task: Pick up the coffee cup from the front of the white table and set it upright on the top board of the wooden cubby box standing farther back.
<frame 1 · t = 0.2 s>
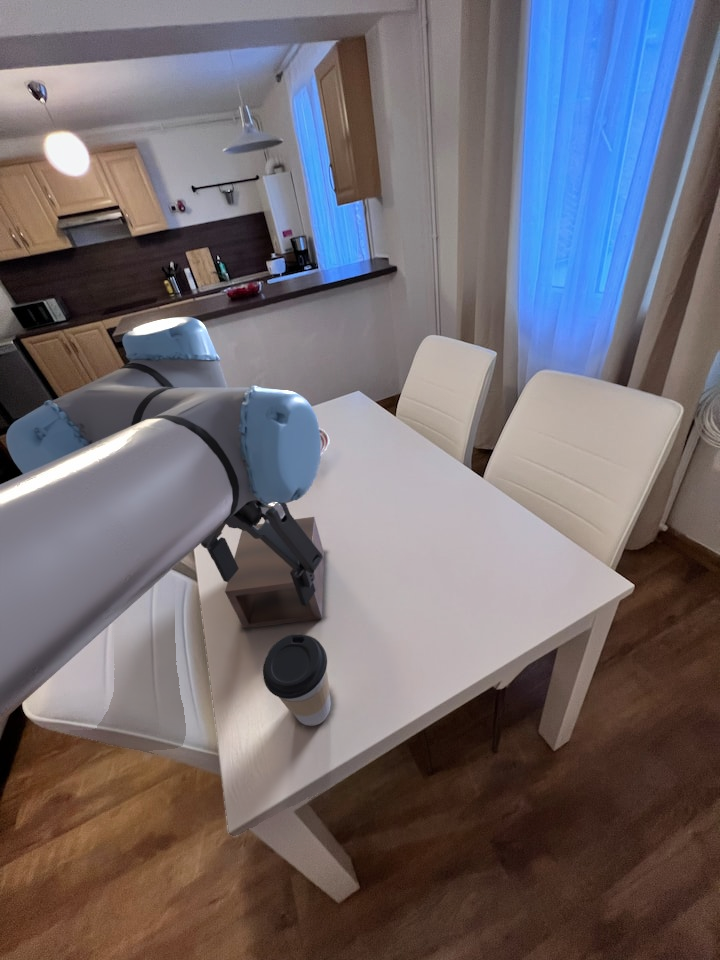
hand: (268, 585, 58), 24 cm above the table, tool pointing down, fingers open, 13 cm apart
coffee cup: (313, 708, 66), on the table
wooden cubby box: (287, 587, 88), on the table
dinner plate: (290, 453, 135), on the table
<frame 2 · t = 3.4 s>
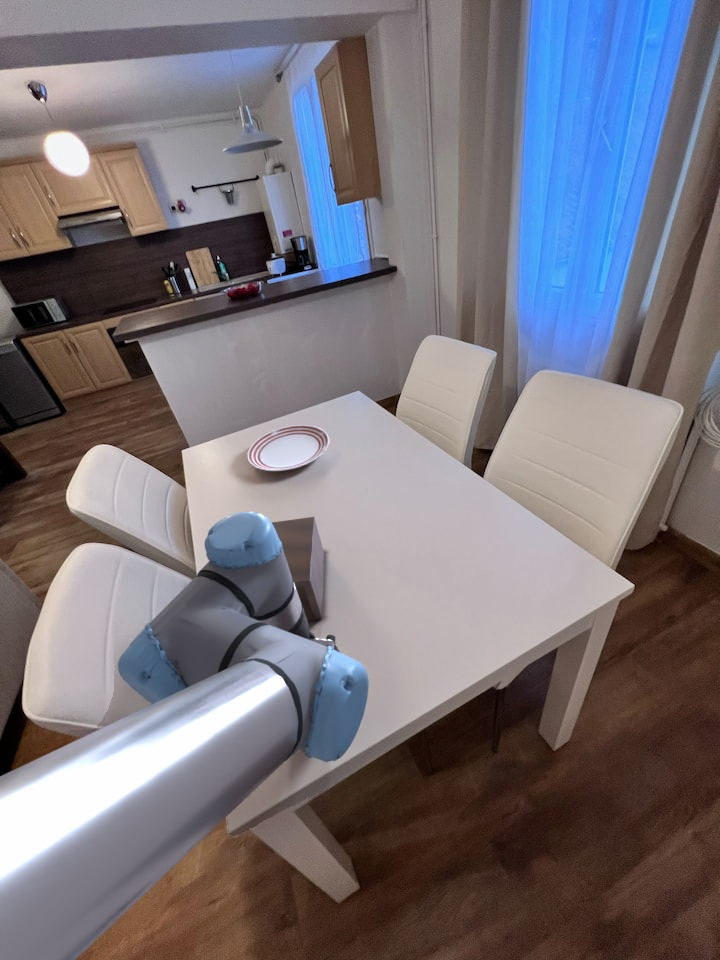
hand: (310, 701, 65), 2 cm above the table, tool pointing down, fingers closed on coffee cup, 8 cm apart
coffee cup: (313, 708, 66), on the table, touching gripper
everything else where it was.
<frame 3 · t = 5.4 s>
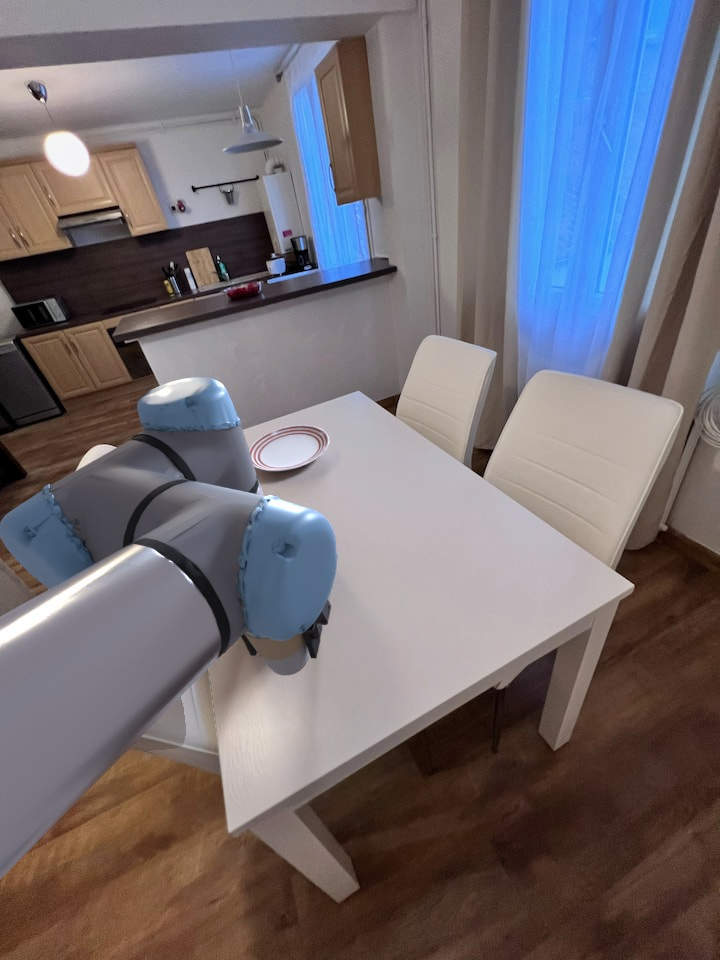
hand: (285, 647, 56), 18 cm above the table, tool pointing down, fingers closed on coffee cup, 8 cm apart
coffee cup: (289, 657, 57), point 16 cm above the table, touching gripper
everything else where it was.
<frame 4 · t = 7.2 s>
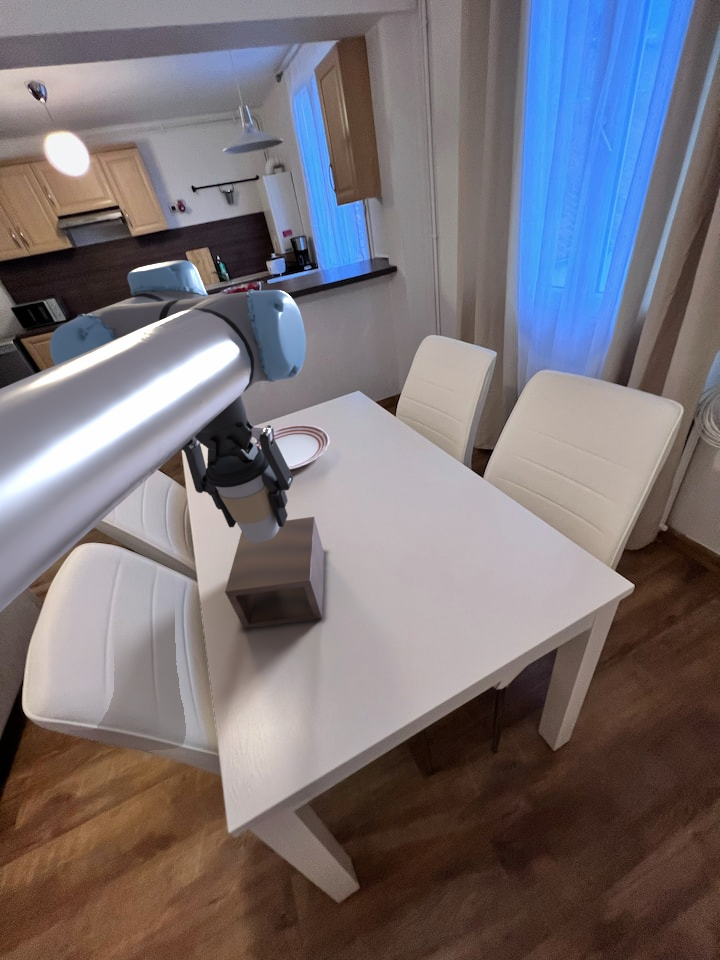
hand: (258, 521, 66), 26 cm above the table, tool pointing down, fingers closed on coffee cup, 8 cm apart
coffee cup: (262, 531, 68), point 23 cm above the table, touching gripper
everything else where it was.
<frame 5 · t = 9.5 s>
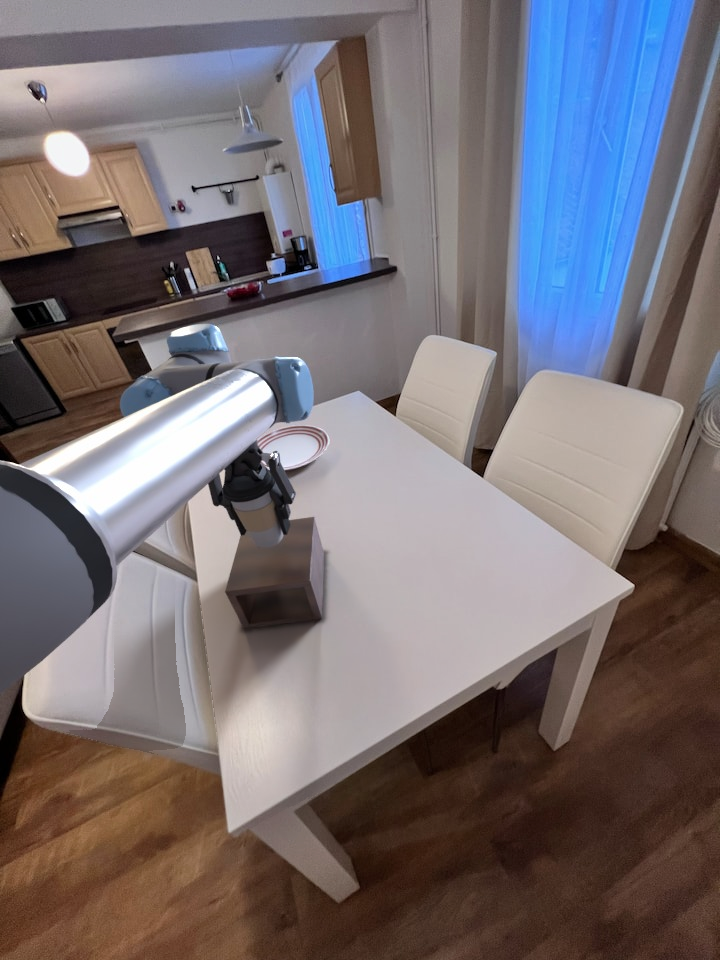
hand: (265, 530, 78), 17 cm above the table, tool pointing down, fingers closed on coffee cup, 8 cm apart
coffee cup: (269, 538, 79), point 15 cm above the table, touching gripper
everything else where it was.
when the fingers open (14 cm above the table, at t = 10.9 s): coffee cup stays where it is, resting on wooden cubby box.
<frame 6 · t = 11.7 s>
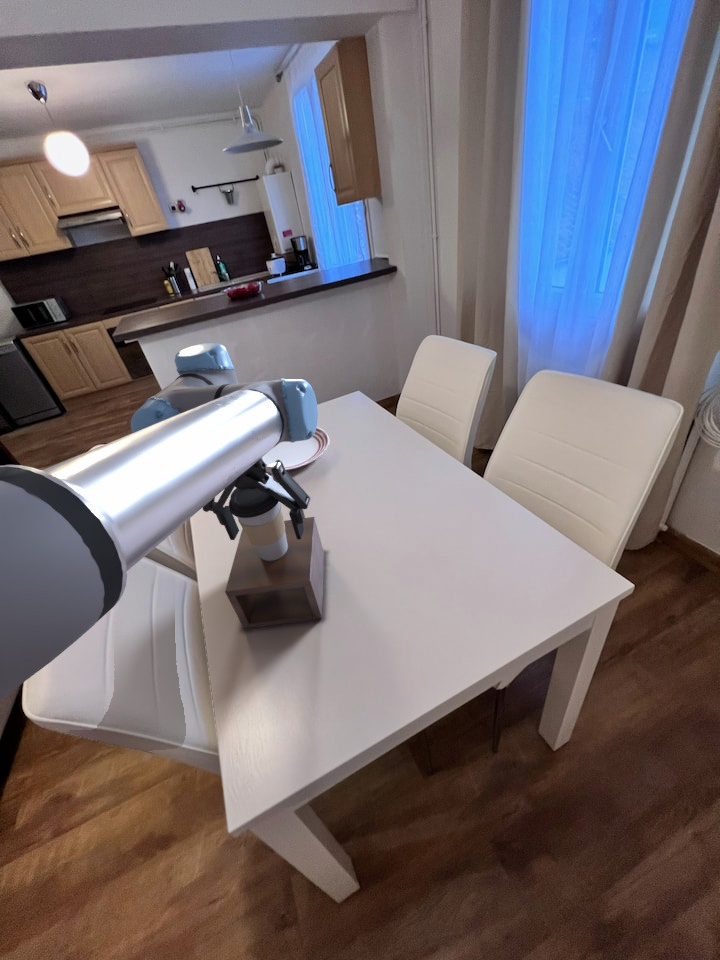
hand: (267, 535, 78), 16 cm above the table, tool pointing down, fingers open, 13 cm apart
coffee cup: (273, 551, 81), point 11 cm above the table, touching wooden cubby box
everything else where it was.
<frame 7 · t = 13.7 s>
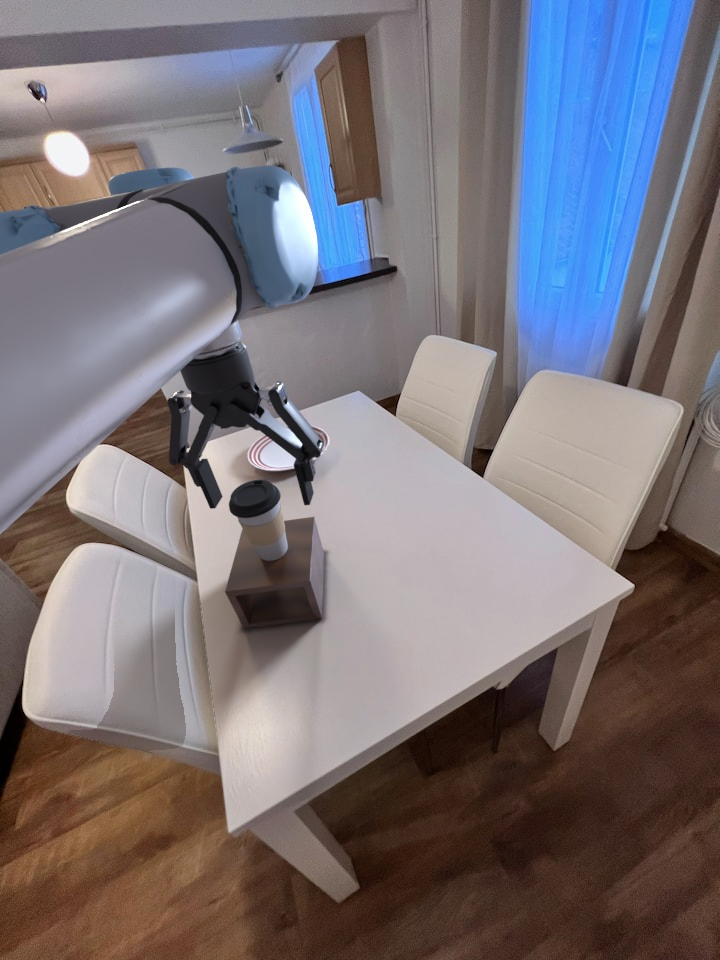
hand: (262, 501, 56), 35 cm above the table, tool pointing down, fingers open, 13 cm apart
nothing on the table moved.
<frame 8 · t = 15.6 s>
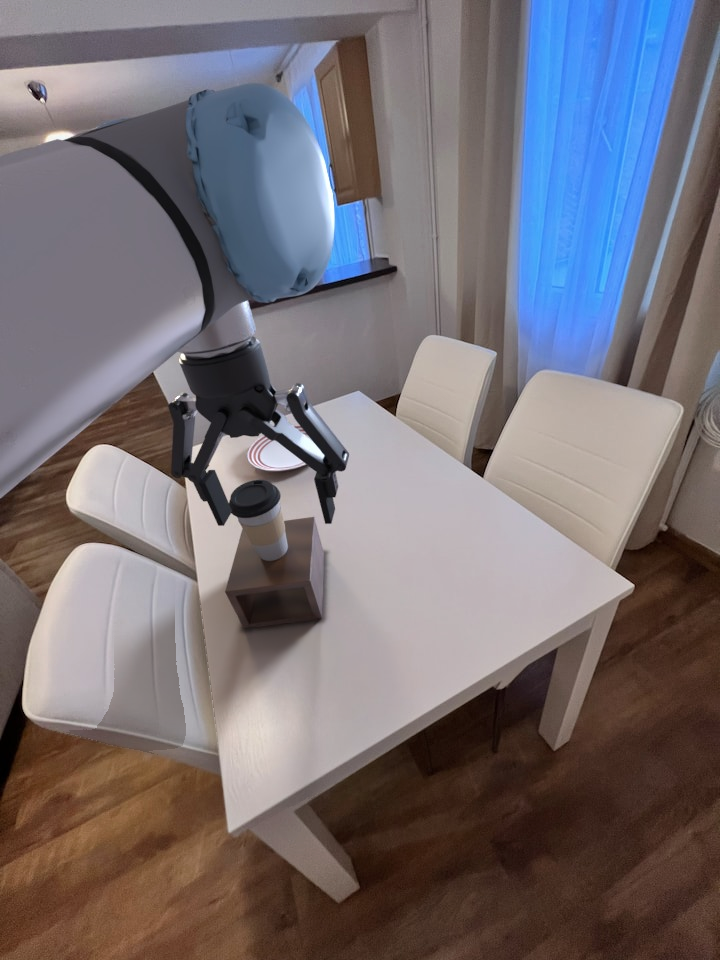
hand: (276, 517, 49), 37 cm above the table, tool pointing down, fingers open, 13 cm apart
nothing on the table moved.
at the end: coffee cup inside the target area on the wooden cubby box (0.0 cm from its centre), point 11.3 cm above the wooden cubby box's base; coffee cup tilted 0°; the gripper is holding nothing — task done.
